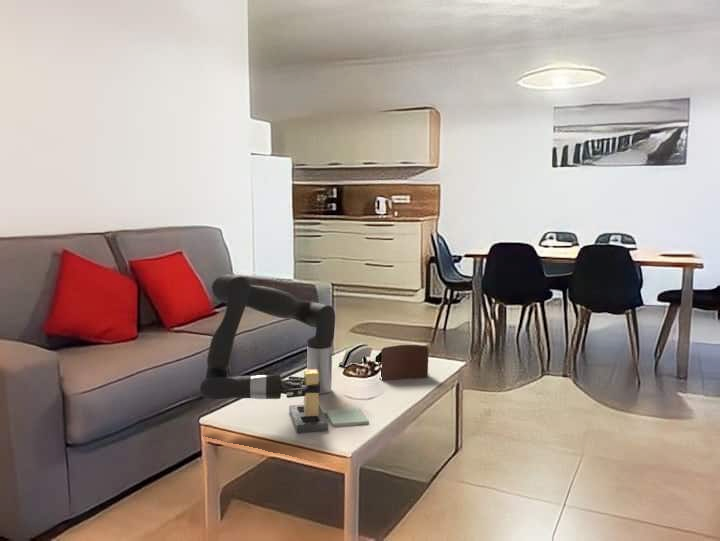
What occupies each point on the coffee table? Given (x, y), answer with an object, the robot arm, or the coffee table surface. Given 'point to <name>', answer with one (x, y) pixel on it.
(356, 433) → the coffee table surface
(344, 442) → the coffee table surface
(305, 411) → the plug
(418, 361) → the letter holder
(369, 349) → the grey curved piece
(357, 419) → the pad
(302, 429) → the frame with square holes
